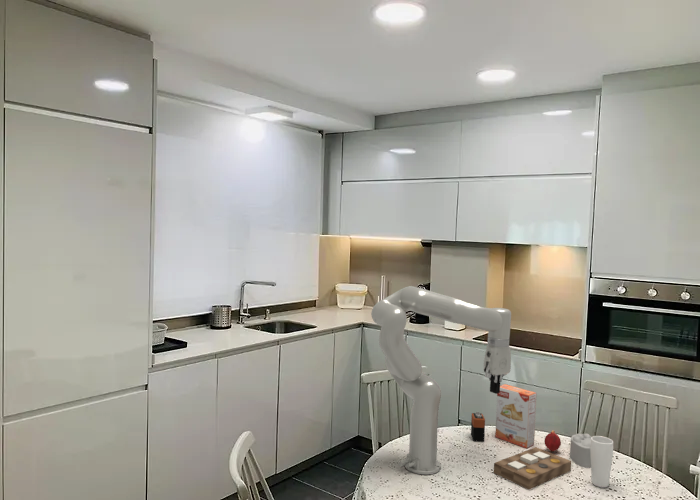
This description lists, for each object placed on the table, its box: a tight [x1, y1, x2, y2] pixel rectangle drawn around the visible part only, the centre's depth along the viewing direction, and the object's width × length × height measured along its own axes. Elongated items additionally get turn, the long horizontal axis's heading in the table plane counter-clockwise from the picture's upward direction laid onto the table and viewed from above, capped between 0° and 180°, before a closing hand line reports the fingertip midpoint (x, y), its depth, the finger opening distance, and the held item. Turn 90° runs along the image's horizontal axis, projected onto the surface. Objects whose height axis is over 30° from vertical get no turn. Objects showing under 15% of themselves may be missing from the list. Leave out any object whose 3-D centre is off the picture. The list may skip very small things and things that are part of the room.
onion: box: [543, 430, 562, 453], centre depth 203 cm, size 6×6×8 cm
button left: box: [508, 461, 526, 470], centre depth 183 cm, size 4×4×2 cm
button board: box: [493, 446, 572, 491], centre depth 186 cm, size 24×14×4 cm, turn 127°
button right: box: [532, 451, 550, 460], centre depth 191 cm, size 4×4×2 cm
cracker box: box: [495, 383, 537, 449], centre depth 211 cm, size 14×6×21 cm, turn 42°
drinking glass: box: [590, 435, 614, 488], centre depth 178 cm, size 7×7×15 cm
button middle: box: [520, 454, 538, 465], centre depth 187 cm, size 4×4×2 cm
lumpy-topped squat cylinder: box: [569, 433, 592, 469], centre depth 196 cm, size 10×13×9 cm
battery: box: [470, 411, 486, 443], centre depth 214 cm, size 4×7×10 cm, turn 175°
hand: (494, 392), depth 196 cm, fingers closed
